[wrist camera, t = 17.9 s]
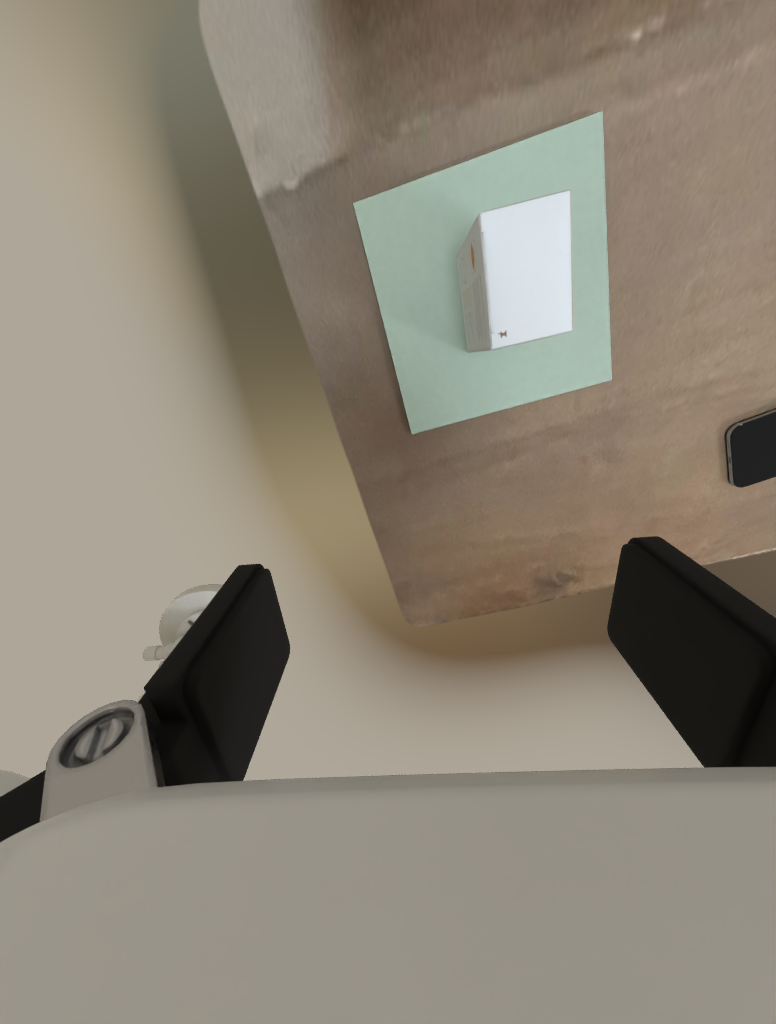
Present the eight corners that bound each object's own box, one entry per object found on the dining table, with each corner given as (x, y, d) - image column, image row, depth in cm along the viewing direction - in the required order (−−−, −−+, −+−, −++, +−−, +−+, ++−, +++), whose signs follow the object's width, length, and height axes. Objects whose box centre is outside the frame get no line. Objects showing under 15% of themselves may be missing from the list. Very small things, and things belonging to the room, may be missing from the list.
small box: (525, 340, 34) (575, 334, 24) (465, 353, 34) (490, 353, 25) (519, 238, 31) (575, 184, 21) (454, 254, 31) (478, 210, 22)
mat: (411, 433, 38) (411, 434, 38) (353, 205, 31) (352, 203, 30) (608, 379, 35) (611, 380, 35) (598, 115, 28) (602, 110, 27)
